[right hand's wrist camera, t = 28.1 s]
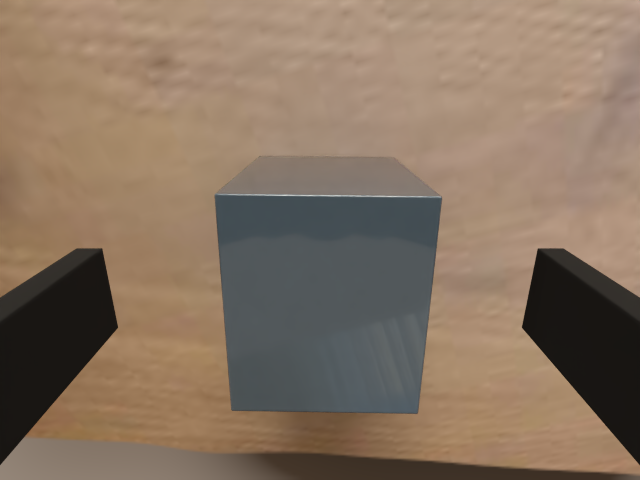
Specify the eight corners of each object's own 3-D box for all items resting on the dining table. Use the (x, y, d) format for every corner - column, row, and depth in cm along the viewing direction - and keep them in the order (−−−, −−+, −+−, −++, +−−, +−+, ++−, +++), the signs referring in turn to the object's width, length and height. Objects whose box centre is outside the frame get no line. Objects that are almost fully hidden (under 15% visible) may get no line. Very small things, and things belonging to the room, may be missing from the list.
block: (384, 301, 20) (418, 414, 13) (264, 299, 20) (231, 411, 13) (394, 157, 18) (442, 196, 10) (258, 155, 18) (214, 193, 10)
